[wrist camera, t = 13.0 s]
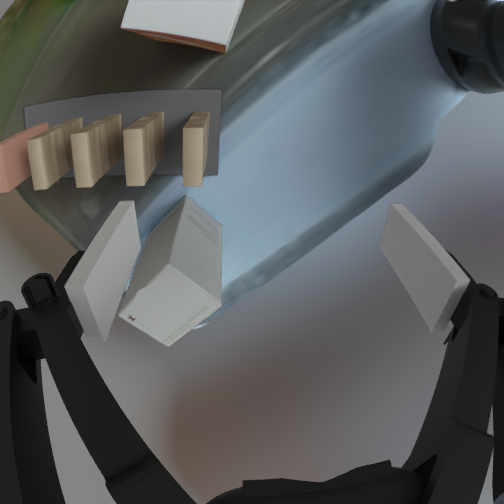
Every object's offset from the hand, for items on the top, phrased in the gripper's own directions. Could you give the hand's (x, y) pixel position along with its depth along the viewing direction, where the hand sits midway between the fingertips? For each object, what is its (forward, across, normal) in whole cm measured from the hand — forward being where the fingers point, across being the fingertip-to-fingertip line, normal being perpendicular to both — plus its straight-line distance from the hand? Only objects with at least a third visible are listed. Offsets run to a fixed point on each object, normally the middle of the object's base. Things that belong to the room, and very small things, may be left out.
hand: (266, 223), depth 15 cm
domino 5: (+21, +5, 0) cm, 22 cm away
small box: (+22, +6, -13) cm, 26 cm away
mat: (+22, +16, 0) cm, 27 cm away
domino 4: (+21, +10, 0) cm, 23 cm away
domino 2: (+21, +20, -1) cm, 29 cm away
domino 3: (+21, +15, 0) cm, 26 cm away
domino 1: (+21, +25, -1) cm, 33 cm away
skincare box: (+22, +8, +12) cm, 26 cm away
